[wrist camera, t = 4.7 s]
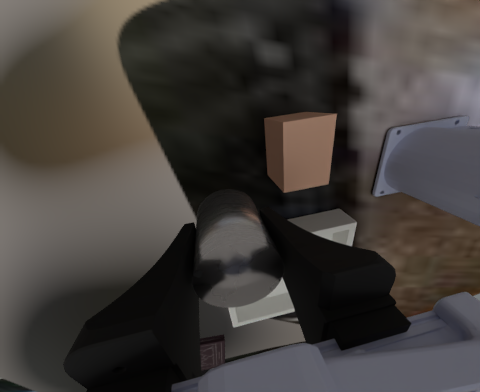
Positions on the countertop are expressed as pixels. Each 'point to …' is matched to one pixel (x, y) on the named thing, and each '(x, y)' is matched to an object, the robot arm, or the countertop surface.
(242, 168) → the countertop surface
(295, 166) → the carton
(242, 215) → the tin
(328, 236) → the tray
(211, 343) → the chocolate bar
